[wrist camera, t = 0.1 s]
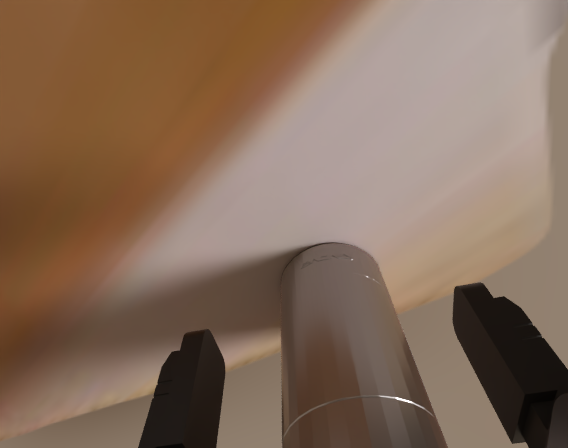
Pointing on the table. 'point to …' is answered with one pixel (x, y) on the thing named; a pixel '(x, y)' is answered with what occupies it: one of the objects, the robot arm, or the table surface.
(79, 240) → the table surface
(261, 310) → the table surface
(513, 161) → the table surface
